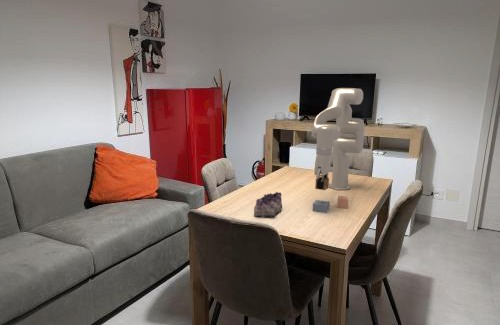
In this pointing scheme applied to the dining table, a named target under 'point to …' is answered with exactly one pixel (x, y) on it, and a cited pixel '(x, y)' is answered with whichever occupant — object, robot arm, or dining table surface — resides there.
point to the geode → (268, 205)
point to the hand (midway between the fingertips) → (322, 187)
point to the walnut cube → (326, 184)
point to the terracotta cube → (342, 202)
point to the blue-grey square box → (321, 206)
